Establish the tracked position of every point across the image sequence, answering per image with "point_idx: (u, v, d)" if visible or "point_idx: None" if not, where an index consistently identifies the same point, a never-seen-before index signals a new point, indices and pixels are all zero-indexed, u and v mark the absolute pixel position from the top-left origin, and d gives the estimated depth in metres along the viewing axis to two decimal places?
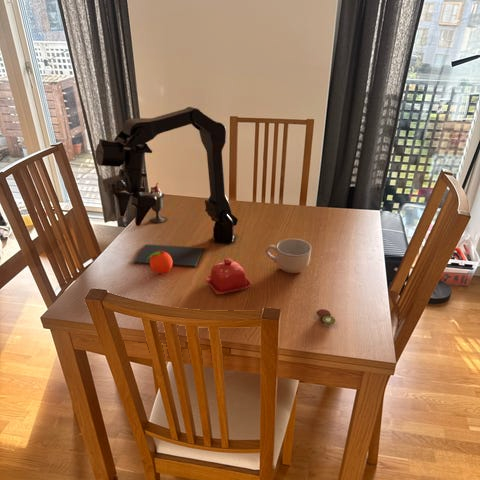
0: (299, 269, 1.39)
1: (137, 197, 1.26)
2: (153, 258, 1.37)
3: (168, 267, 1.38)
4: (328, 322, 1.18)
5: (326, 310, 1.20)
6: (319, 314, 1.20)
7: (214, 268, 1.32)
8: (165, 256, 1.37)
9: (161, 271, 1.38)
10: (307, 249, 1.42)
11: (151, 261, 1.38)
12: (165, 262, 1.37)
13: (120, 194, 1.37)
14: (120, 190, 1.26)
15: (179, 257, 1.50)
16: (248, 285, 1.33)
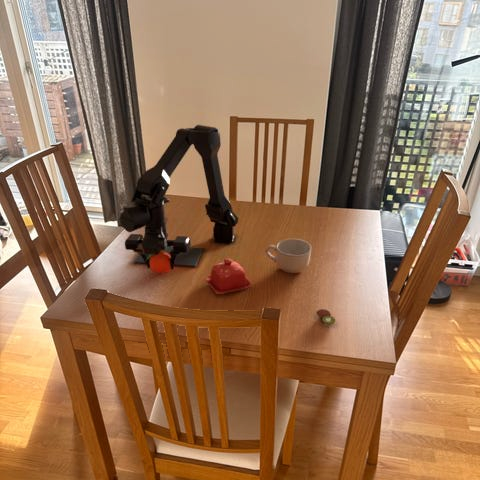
0: (299, 269, 1.39)
1: (182, 245, 1.32)
2: (152, 258, 1.37)
3: (167, 267, 1.39)
4: (328, 322, 1.18)
5: (326, 310, 1.20)
6: (319, 314, 1.20)
7: (214, 268, 1.32)
8: (164, 256, 1.37)
9: (160, 271, 1.38)
10: (307, 249, 1.42)
11: (150, 261, 1.38)
12: (165, 262, 1.37)
13: None
14: (166, 247, 1.30)
15: (179, 257, 1.50)
16: (248, 285, 1.33)
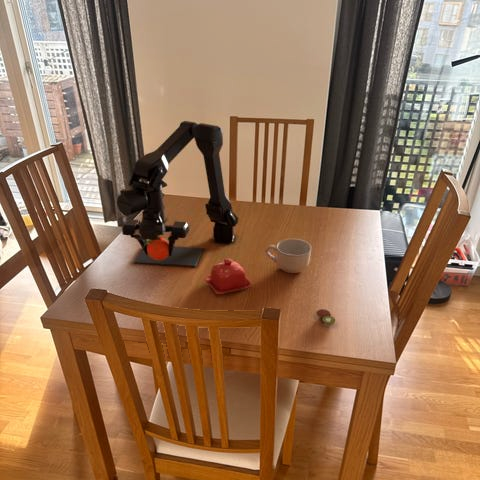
0: (299, 269, 1.39)
1: (180, 231, 1.30)
2: (150, 244, 1.35)
3: (165, 253, 1.36)
4: (328, 322, 1.18)
5: (326, 310, 1.20)
6: (319, 314, 1.20)
7: (214, 268, 1.32)
8: (162, 242, 1.35)
9: (158, 257, 1.36)
10: (307, 249, 1.42)
11: (148, 247, 1.35)
12: (163, 248, 1.35)
13: None
14: None
15: (179, 257, 1.50)
16: (248, 285, 1.33)
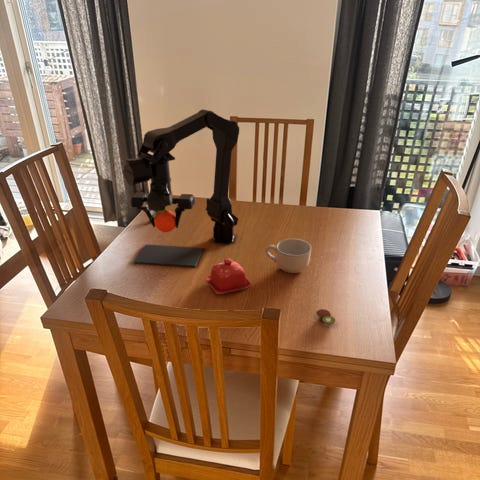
0: (299, 269, 1.39)
1: (186, 202, 1.35)
2: (157, 216, 1.40)
3: (172, 225, 1.41)
4: (328, 322, 1.18)
5: (326, 310, 1.20)
6: (319, 314, 1.20)
7: (214, 268, 1.32)
8: (169, 214, 1.40)
9: (165, 229, 1.41)
10: (307, 249, 1.42)
11: (156, 219, 1.40)
12: (170, 220, 1.39)
13: None
14: (171, 202, 1.32)
15: (179, 257, 1.50)
16: (248, 285, 1.33)
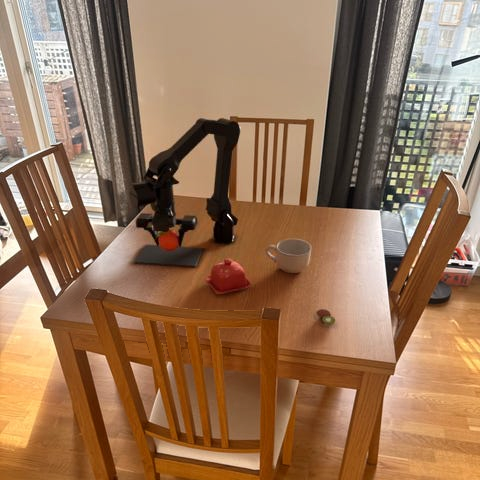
0: (299, 269, 1.39)
1: (189, 223, 1.41)
2: (161, 236, 1.46)
3: (176, 245, 1.47)
4: (328, 322, 1.18)
5: (326, 310, 1.20)
6: (319, 314, 1.20)
7: (214, 268, 1.32)
8: (173, 234, 1.46)
9: (169, 248, 1.47)
10: (307, 249, 1.42)
11: (160, 239, 1.46)
12: (173, 240, 1.46)
13: None
14: (174, 224, 1.38)
15: (179, 257, 1.50)
16: (248, 285, 1.33)
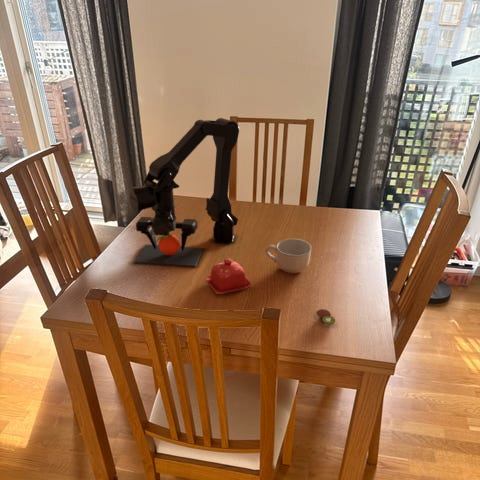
0: (299, 269, 1.39)
1: (189, 227, 1.41)
2: (162, 240, 1.47)
3: (176, 249, 1.48)
4: (328, 322, 1.18)
5: (326, 310, 1.20)
6: (319, 314, 1.20)
7: (214, 268, 1.32)
8: (173, 238, 1.47)
9: (169, 253, 1.48)
10: (307, 249, 1.42)
11: (160, 243, 1.47)
12: (173, 244, 1.46)
13: (151, 231, 1.46)
14: (174, 228, 1.39)
15: (179, 257, 1.50)
16: (248, 285, 1.33)
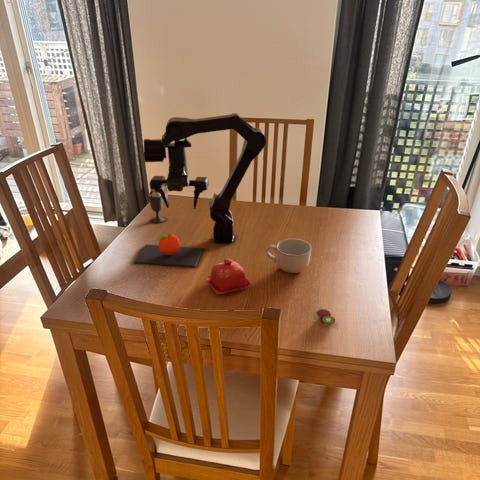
0: (299, 269, 1.39)
1: (202, 184, 1.46)
2: (162, 240, 1.47)
3: (176, 249, 1.48)
4: (328, 322, 1.18)
5: (326, 310, 1.20)
6: (319, 314, 1.20)
7: (214, 268, 1.32)
8: (173, 238, 1.47)
9: (169, 253, 1.48)
10: (307, 249, 1.42)
11: (160, 243, 1.47)
12: (173, 244, 1.46)
13: (164, 189, 1.51)
14: (188, 184, 1.44)
15: (179, 257, 1.50)
16: (248, 285, 1.33)
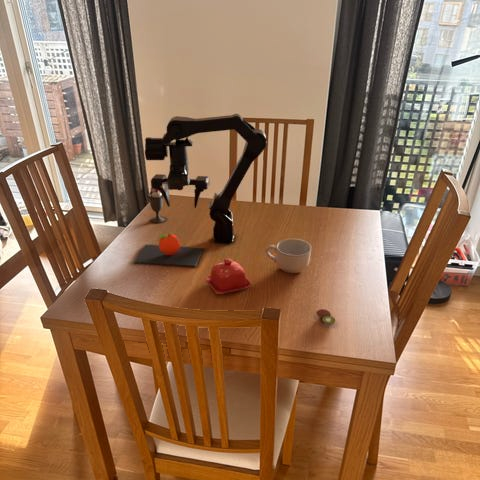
0: (299, 269, 1.39)
1: (203, 183, 1.47)
2: (162, 240, 1.47)
3: (176, 249, 1.48)
4: (328, 322, 1.18)
5: (326, 310, 1.20)
6: (319, 314, 1.20)
7: (214, 268, 1.32)
8: (173, 238, 1.47)
9: (169, 253, 1.48)
10: (307, 249, 1.42)
11: (160, 243, 1.47)
12: (173, 244, 1.46)
13: (165, 188, 1.52)
14: (188, 183, 1.44)
15: (179, 257, 1.50)
16: (248, 285, 1.33)
